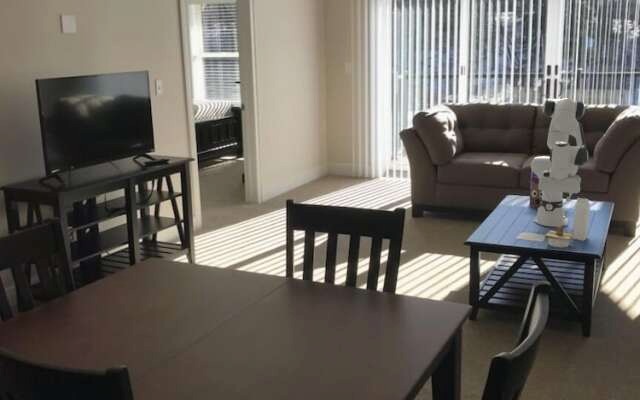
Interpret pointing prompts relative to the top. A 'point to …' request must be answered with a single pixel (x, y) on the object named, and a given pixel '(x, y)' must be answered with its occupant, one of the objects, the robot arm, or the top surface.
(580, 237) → the milk
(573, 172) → the robot arm
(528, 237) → the mat
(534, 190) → the cereal box
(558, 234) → the lid
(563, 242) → the bowl
